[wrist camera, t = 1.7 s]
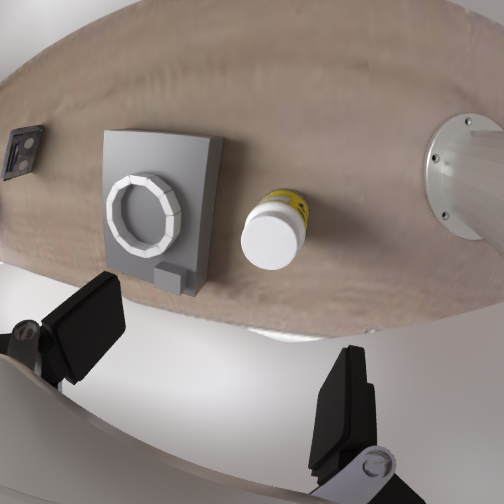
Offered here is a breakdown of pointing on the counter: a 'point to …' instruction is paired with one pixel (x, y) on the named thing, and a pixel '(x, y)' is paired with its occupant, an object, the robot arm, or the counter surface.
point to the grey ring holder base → (160, 205)
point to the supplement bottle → (275, 229)
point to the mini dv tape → (21, 151)
